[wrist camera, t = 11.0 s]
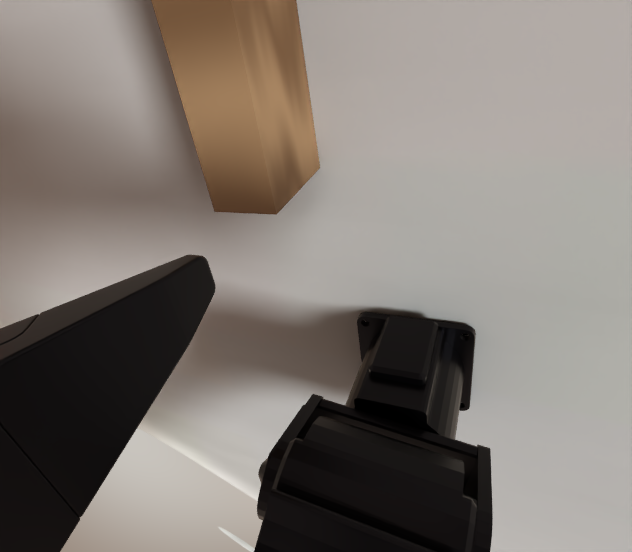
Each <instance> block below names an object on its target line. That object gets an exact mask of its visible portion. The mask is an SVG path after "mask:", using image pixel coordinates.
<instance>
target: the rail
mask: <svg viewBox="0 0 632 552" xmlns="http://www.w3.org/2000/svg"><path fill="white" fill-rule="evenodd" d="M151 1H152V4H153V7H154V11H155V14H156V17H157V21H158V24H159V27H160V31H161V34H162V37H163V41H164V44H165V47H166V51H167V54H168V57H169V61H170V64H171V67H172V71H173V74H174V77H175V81H176V84H177V87H178V91H179V94H180V98H181V101H182V104H183V108H184V111H185V114H186V118H187V121H188V124H189V128H190V131H191V134H192V138H193V141H194V144H195V148H196V151H197V154H198V158H199V161H200V164H201V168H202V171H203V174H204V178H205V181H206V184H207V188H208V191H209V194H210V198H211V201H212V205H213V208H214V211H215V212H234V213H257V214H277V213H278V212H279V211H280V210H281V209H282V208H283V207H284V206H285V205H286V204H287V203H288V202H289V200H290V199H291V198H292V197H293V196H294V195H295V194H296V193H297V192H298V191H299V190H300V189H301V188H302V186H303V185H304V184H305V183H306V182H307V181H308V180H309V179H310V178H311V177H312V176H313V175H314V174H315V173H316V171H317V170H318V169H319V168H320V164H319V157H318V150H317V143H316V136H315V129H314V122H313V115H312V108H311V101H310V94H309V87H308V80H307V73H306V66H305V59H304V52H303V45H302V38H301V31H300V24H299V17H298V10H297V3H296V0H151Z"/></svg>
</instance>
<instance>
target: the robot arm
mask: <svg viewBox="0 0 632 552" xmlns="http://www.w3.org/2000/svg"><path fill="white" fill-rule="evenodd" d="M214 293H215V282H214V279H213V276H212V273H211V270H210V267H209V264H208V261H207V260H206V258H205V257H203V256H199V255H186V256H183V257H181V258H178V259H176V260H173V261H171V262H168V263H166V264H163V265H161V266H158V267H156V268H153V269H151V270H148V271H146V272H143V273H140V274H138V275H135V276H133V277H130V278H128V279H125V280H123V281H120V282H118V283H115V284H113V285H110V286H108V287H105V288H103V289H100V290H97V291H95V292H92V293H90V294H87V295H85V296H82V297H80V298H77V299H75V300H72V301H70V302H67V303H65V304H62V305H60V306H57V307H54V308H52V309H49V310H47V311H44V312H42V313H41V314H40V315H38V314H37V315H34V316H32V317H29V318H27V319H24V320H21V321H19V322H16V323H14V324H11V325H8V326H6V327H3V328H1V329H0V552H60V551H61V549H62V548H63V546H64V544H65V543H66V541H67V540H68V538H69V536H70V535H71V533H72V532H73V530H74V529H75V527H76V525H77V524H78V522H79V521H80V517H81V516H82V515H83V514H84V512H85V510H86V509H87V507H88V506H89V504H90V502H91V501H92V499H93V498H94V496H95V494H96V493H97V491H98V490H99V488H100V486H101V485H102V483H103V482H104V480H105V478H106V477H107V475H108V474H109V472H110V470H111V469H112V467H113V466H114V464H115V462H116V461H117V459H118V457H119V456H120V454H121V453H122V451H123V450H124V448H125V446H126V445H127V443H128V442H129V440H130V438H131V437H132V435H133V434H134V432H135V430H136V429H137V427H138V426H139V424H140V422H141V421H142V419H143V418H144V416H145V414H146V413H147V411H148V410H149V408H150V406H151V405H152V403H153V402H154V400H155V398H156V397H157V395H158V394H159V392H160V390H161V389H162V387H163V386H164V384H165V382H166V381H167V379H168V378H169V376H170V374H171V373H172V371H173V370H174V368H175V366H176V365H177V363H178V362H179V360H180V358H181V357H182V355H183V354H184V352H185V350H186V349H187V347H188V345H189V343H190V342H191V340H192V338H193V336H194V334H195V332H196V330H197V328H198V326H199V324H200V322H201V320H202V318H203V316H204V314H205V312H206V309H207V307H208V305H209V303H210V301H211V299H212V297H213V295H214ZM364 320H367V321H368V322H366V321H364ZM357 325H358V334H359V342H360V351H361V359H362V365H361V367H360V370H359V372H358V375H357V377H356V380H355V382H354V385H353V387H352V390H351V392H350V395H349V397H348V400H347V402H346V405H341V404H338V403H335V402H332V401H329V400H325V399H323V397H322V396H318V395H315V394H312V396H311V397H310V399H309V400H308V402H307V403H306V404H305V405H303V406H302V408H301V409H300V411H299V412H298V413H297V415H296V416H295V418H294V419H293V421H292V422H291V423H290V425H289V426H288V428H287V429H286V430H285V432H284V433H283V435H282V436H281V438H280V439H279V440H278V442H277V443H276V445H275V446H274V448H273V449H272V450H271V452H270V454H269V456H268V458H267V459H266V460H265V461H264V462H263V463H262V465H261V467H260V469H259V474H258V475H259V478H260V481H261V488H260V492H259V497H258V505H257V512H258V513H257V514H258V517H259V519H261V520H263V522H262V526H261V530H260V533H259V536H258V540H257V543H256V547H255V550H254V552H490V547H491V538H492V487H491V457H490V448H487V447H484V446H481V445H477V446H474V445H471V444H467V443H464V442H461V441H458V440H455V435H456V429H457V422H458V415H459V410H460V411H465V410H468V409H469V407H470V397H471V384H472V372H473V359H474V347H475V335H476V333H475V330H474V329H473V328H472V327H471V326H468V325H462V324H454V323H447V322H439V321H431V320H423V319H416V318H408V317H400V316H392V315H384V314H377V313H369V312H363V313H361V314H360V315H359V317H358V320H357ZM463 333H466V334H468V336H465V335H463ZM461 402H462V403H461Z"/></svg>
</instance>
